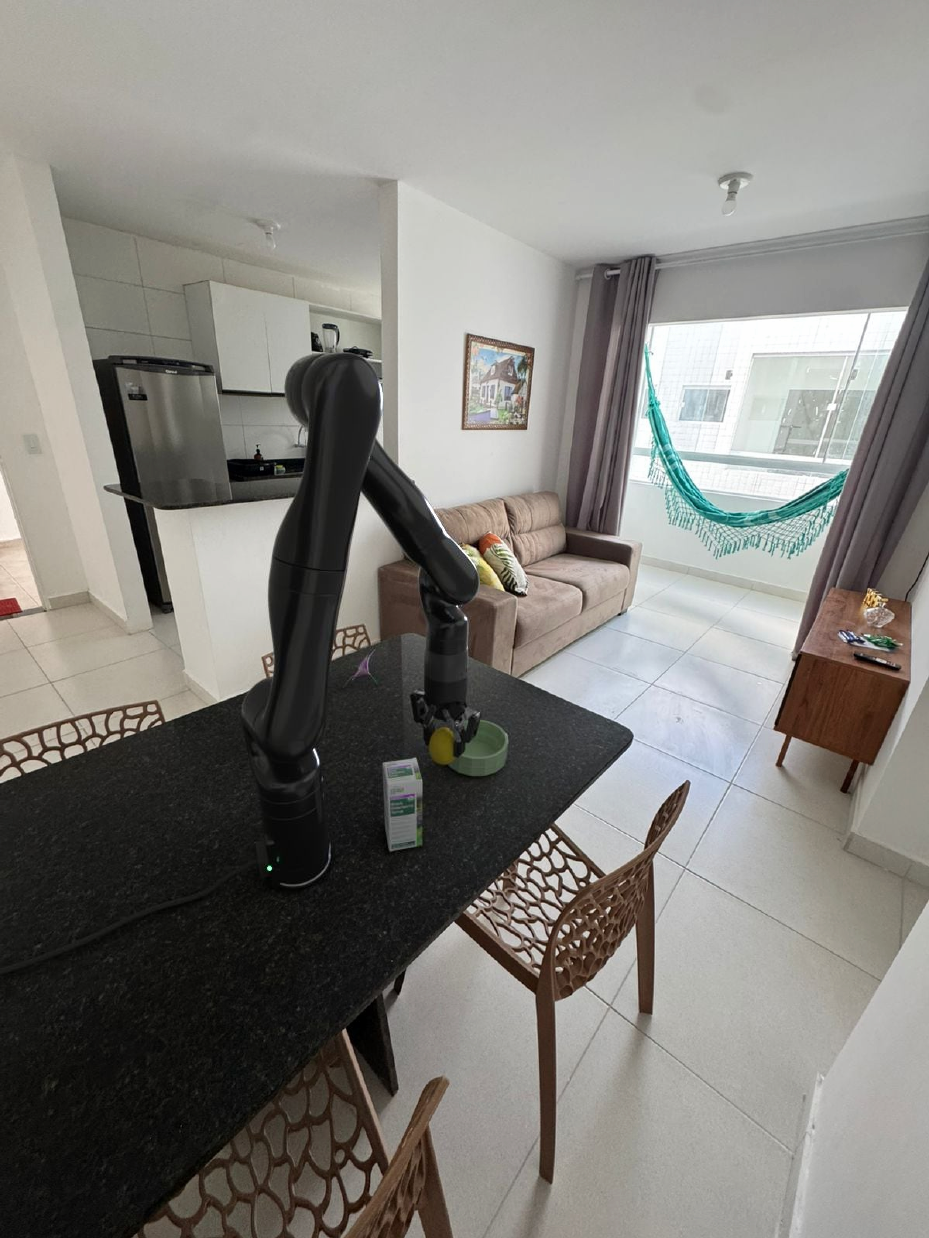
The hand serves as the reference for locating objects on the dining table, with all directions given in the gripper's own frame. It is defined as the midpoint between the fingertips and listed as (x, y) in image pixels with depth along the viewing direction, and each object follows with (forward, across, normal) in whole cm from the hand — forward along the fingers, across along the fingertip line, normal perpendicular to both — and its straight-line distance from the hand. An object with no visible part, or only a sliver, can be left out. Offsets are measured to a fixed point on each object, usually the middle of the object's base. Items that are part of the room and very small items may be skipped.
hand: (444, 748), depth 94 cm
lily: (+11, -39, +22) cm, 46 cm away
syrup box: (+11, 0, -13) cm, 16 cm away
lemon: (+4, 0, 0) cm, 4 cm away
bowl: (+10, 0, +13) cm, 16 cm away
